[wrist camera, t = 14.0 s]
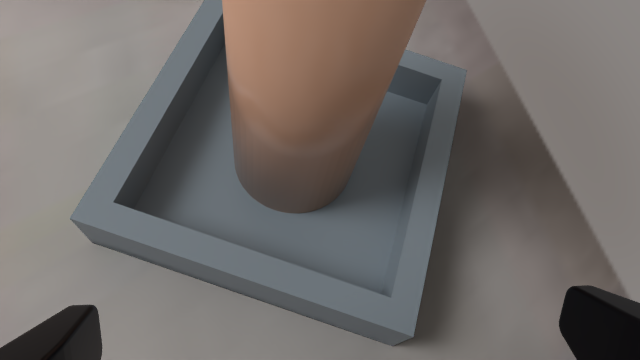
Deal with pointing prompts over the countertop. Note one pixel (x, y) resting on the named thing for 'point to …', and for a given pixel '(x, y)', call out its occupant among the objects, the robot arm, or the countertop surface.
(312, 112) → the jar
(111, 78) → the countertop surface
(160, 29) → the countertop surface
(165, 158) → the tray
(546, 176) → the countertop surface
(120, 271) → the countertop surface
